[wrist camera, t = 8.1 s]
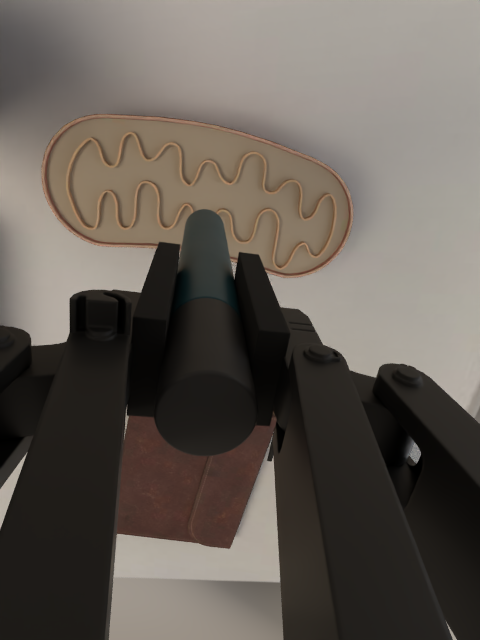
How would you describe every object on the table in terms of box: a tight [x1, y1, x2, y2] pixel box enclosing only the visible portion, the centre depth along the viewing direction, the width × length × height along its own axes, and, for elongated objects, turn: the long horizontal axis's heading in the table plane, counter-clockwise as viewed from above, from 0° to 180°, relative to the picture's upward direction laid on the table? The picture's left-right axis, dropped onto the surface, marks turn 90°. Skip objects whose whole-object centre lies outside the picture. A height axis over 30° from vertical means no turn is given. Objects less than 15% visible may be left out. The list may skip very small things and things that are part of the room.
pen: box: [154, 209, 258, 456], centre depth 17 cm, size 2×2×17 cm
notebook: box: [117, 410, 277, 549], centre depth 48 cm, size 15×20×2 cm
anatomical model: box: [42, 114, 353, 278], centre depth 34 cm, size 23×10×5 cm, turn 78°
